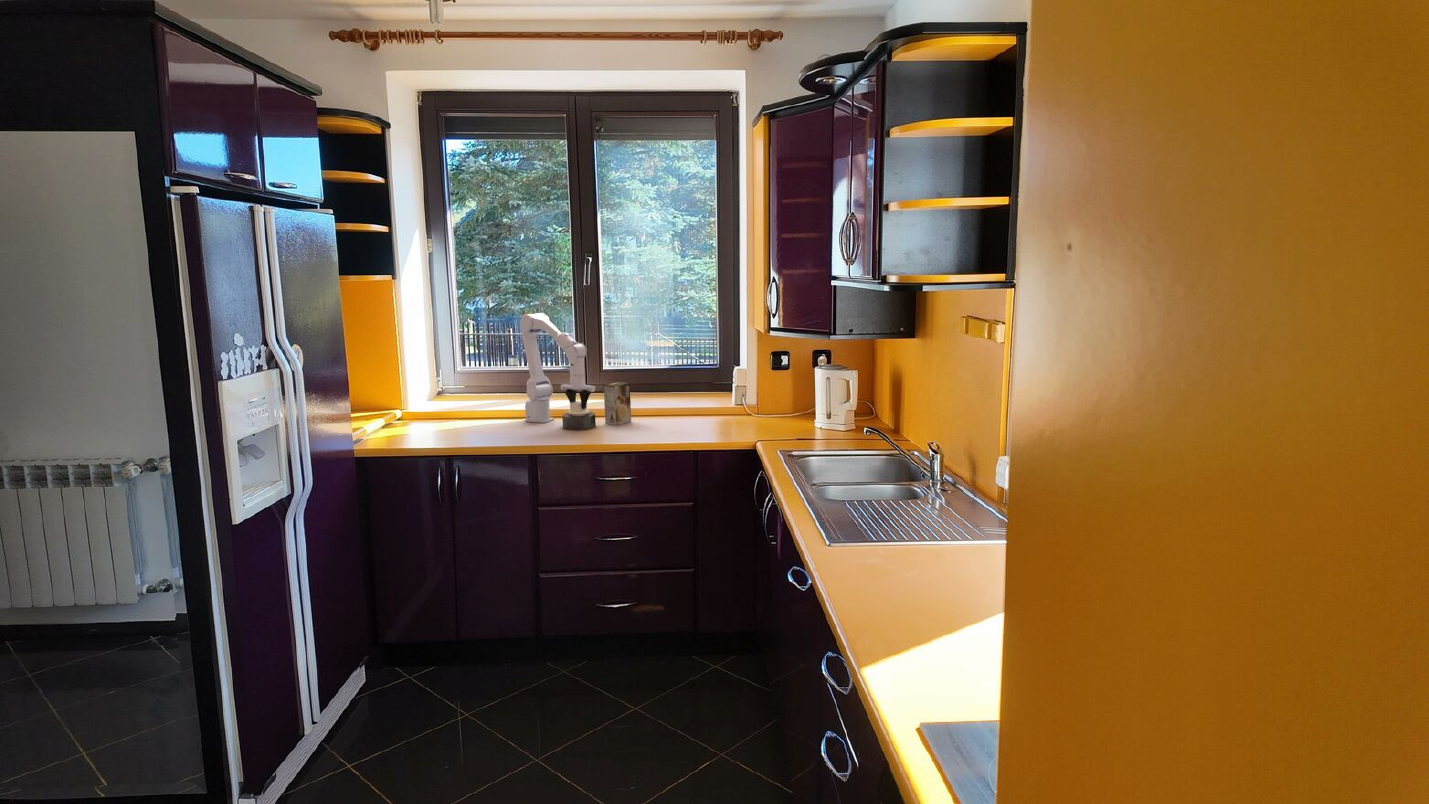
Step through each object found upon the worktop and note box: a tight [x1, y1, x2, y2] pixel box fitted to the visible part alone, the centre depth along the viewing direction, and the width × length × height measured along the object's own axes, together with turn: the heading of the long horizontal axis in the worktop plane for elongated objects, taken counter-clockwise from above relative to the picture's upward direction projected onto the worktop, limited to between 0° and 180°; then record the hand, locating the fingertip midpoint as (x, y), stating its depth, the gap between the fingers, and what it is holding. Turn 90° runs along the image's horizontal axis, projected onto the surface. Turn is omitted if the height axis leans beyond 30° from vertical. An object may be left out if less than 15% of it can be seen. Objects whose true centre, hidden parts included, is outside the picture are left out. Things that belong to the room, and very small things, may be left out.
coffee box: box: [603, 381, 632, 426], centre depth 338 cm, size 9×6×16 cm
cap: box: [567, 400, 590, 416], centre depth 331 cm, size 8×8×7 cm
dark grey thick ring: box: [561, 411, 597, 431], centre depth 332 cm, size 13×13×5 cm
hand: (578, 408), depth 331 cm, fingers closed on cap, 4 cm apart
